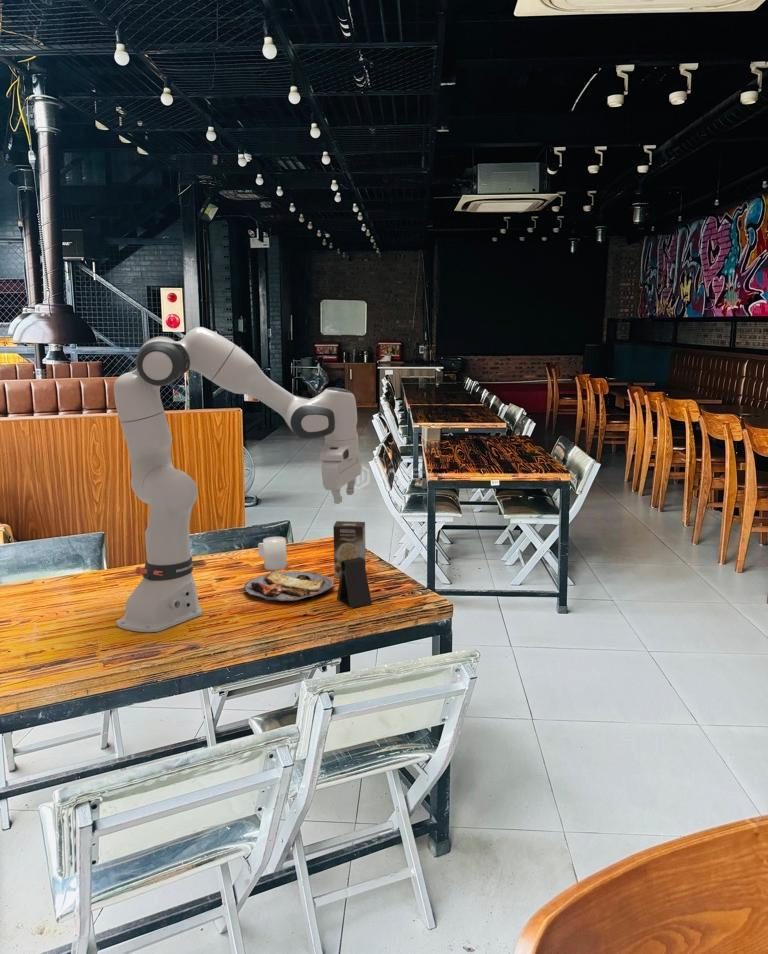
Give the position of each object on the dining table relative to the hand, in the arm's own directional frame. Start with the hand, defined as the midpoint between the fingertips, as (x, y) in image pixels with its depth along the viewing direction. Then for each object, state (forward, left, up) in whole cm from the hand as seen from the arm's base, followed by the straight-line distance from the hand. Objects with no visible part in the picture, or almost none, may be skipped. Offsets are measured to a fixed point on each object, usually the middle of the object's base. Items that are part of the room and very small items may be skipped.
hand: (344, 498), depth 205 cm
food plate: (-1, +18, -28) cm, 34 cm away
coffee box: (+18, +8, -28) cm, 34 cm away
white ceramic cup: (+17, +36, -28) cm, 48 cm away
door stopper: (-3, -4, -28) cm, 28 cm away
